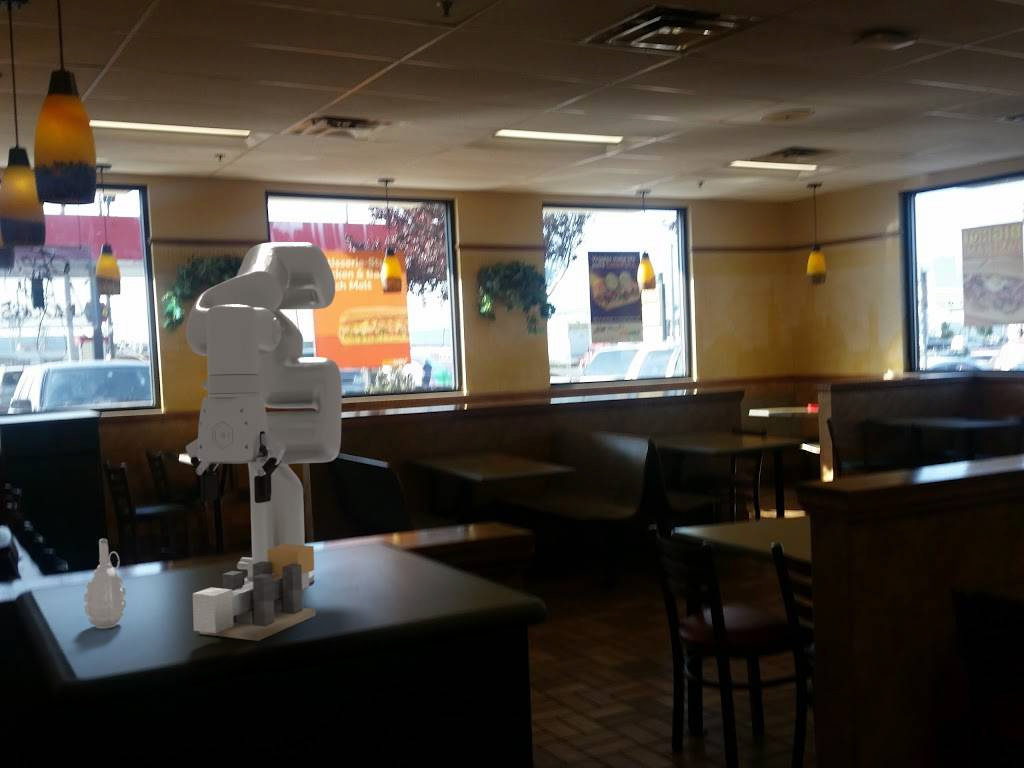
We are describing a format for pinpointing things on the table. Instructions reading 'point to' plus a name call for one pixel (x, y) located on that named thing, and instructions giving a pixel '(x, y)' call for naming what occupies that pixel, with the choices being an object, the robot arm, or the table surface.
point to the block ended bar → (229, 604)
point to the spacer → (291, 557)
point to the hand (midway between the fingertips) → (235, 501)
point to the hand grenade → (105, 592)
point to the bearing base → (266, 630)
